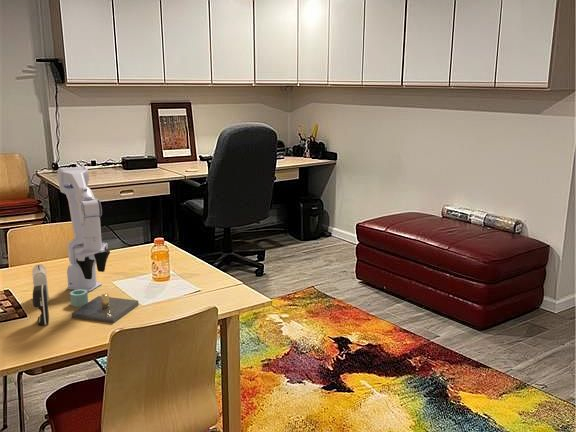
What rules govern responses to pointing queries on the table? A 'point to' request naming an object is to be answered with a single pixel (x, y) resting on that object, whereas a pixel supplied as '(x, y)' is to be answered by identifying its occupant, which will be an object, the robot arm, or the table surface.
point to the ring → (79, 297)
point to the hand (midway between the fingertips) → (94, 275)
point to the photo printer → (40, 277)
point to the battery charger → (41, 303)
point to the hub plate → (105, 309)
